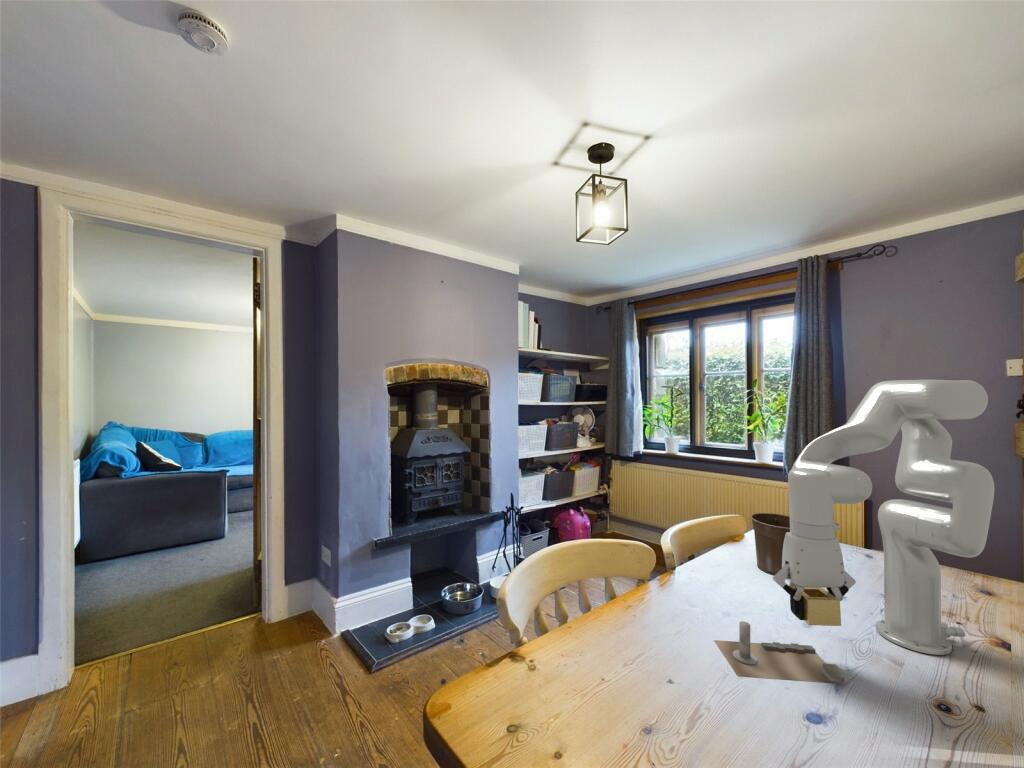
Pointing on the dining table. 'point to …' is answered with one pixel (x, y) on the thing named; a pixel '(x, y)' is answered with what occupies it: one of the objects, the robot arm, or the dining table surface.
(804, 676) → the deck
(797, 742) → the dining table surface
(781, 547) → the plant pot
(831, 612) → the end link
